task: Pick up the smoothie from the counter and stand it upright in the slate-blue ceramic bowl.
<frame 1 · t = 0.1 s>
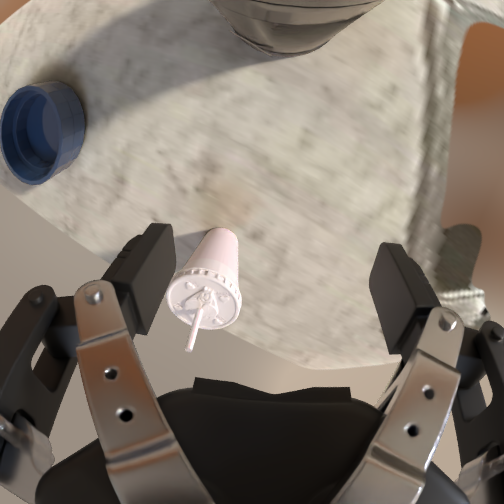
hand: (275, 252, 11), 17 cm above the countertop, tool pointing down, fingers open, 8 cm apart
bowl: (52, 126, 24), on the countertop
smoothie: (221, 241, 31), on the countertop
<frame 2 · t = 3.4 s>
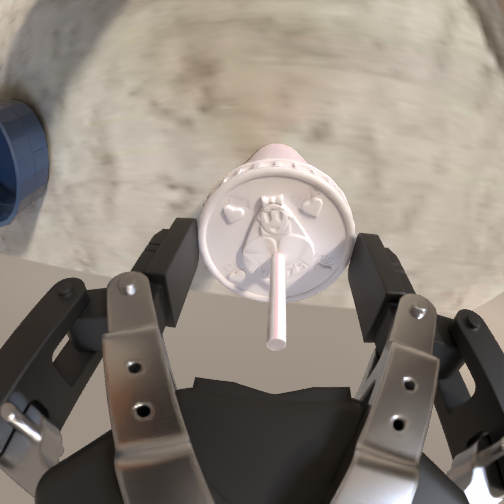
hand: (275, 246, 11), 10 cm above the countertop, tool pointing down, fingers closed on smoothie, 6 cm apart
bowl: (16, 153, 19), on the countertop
smoothie: (276, 168, 19), on the countertop, touching gripper
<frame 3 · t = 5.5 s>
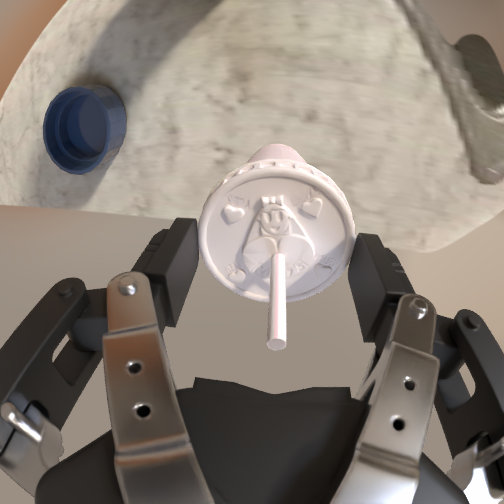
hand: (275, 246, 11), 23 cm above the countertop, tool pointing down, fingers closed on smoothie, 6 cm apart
bowl: (93, 124, 30), on the countertop
smoothie: (276, 168, 19), point 13 cm above the countertop, touching gripper
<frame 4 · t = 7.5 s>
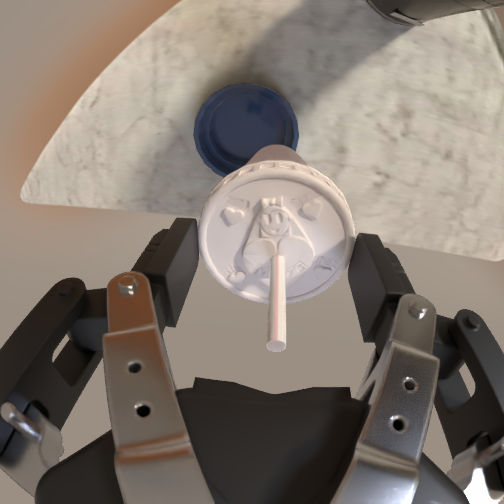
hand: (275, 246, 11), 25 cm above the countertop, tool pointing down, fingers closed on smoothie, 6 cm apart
bowl: (249, 127, 32), on the countertop
smoothie: (276, 169, 19), point 15 cm above the countertop, touching gripper
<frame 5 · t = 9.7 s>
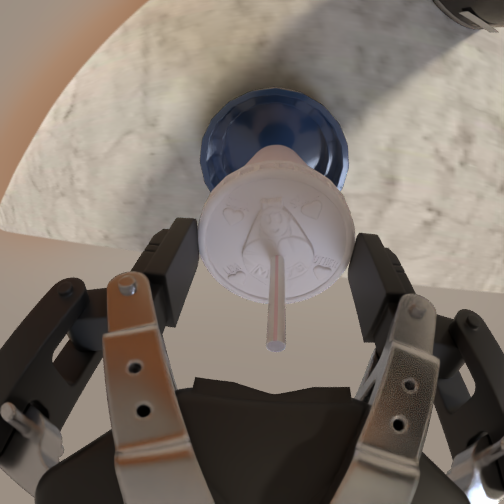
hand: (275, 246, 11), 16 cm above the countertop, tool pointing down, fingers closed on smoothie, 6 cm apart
bowl: (274, 148, 24), on the countertop
smoothie: (276, 169, 19), point 6 cm above the countertop, touching gripper
when the fingers open (10 cm above the countertop, at t = 11.6 s): smoothie stays where it is, resting on bowl.
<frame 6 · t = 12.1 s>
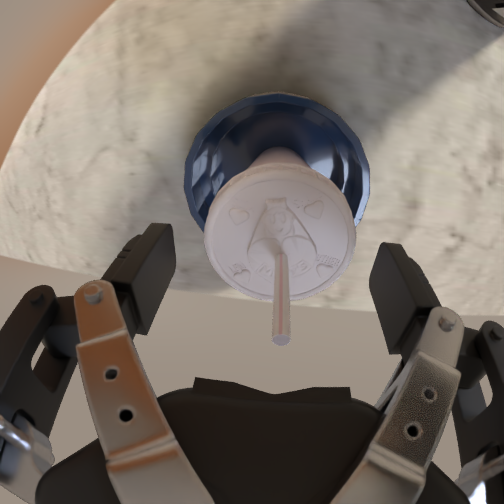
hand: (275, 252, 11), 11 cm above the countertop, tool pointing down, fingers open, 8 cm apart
bowl: (277, 166, 20), on the countertop
smoothie: (279, 170, 20), resting on bowl
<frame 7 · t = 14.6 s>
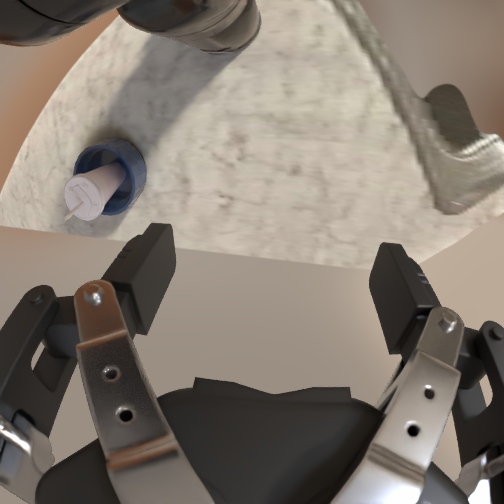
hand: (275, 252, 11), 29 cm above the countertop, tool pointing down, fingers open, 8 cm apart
bowl: (116, 170, 40), on the countertop
smoothie: (116, 172, 40), resting on bowl
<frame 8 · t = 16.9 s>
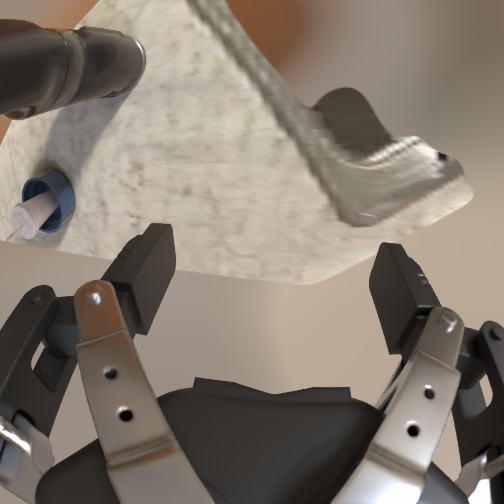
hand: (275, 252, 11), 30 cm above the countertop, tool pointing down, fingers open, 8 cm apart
bowl: (55, 195, 44), on the countertop
smoothie: (54, 197, 43), resting on bowl
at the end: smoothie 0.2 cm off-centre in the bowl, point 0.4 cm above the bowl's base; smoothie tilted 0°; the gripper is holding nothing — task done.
